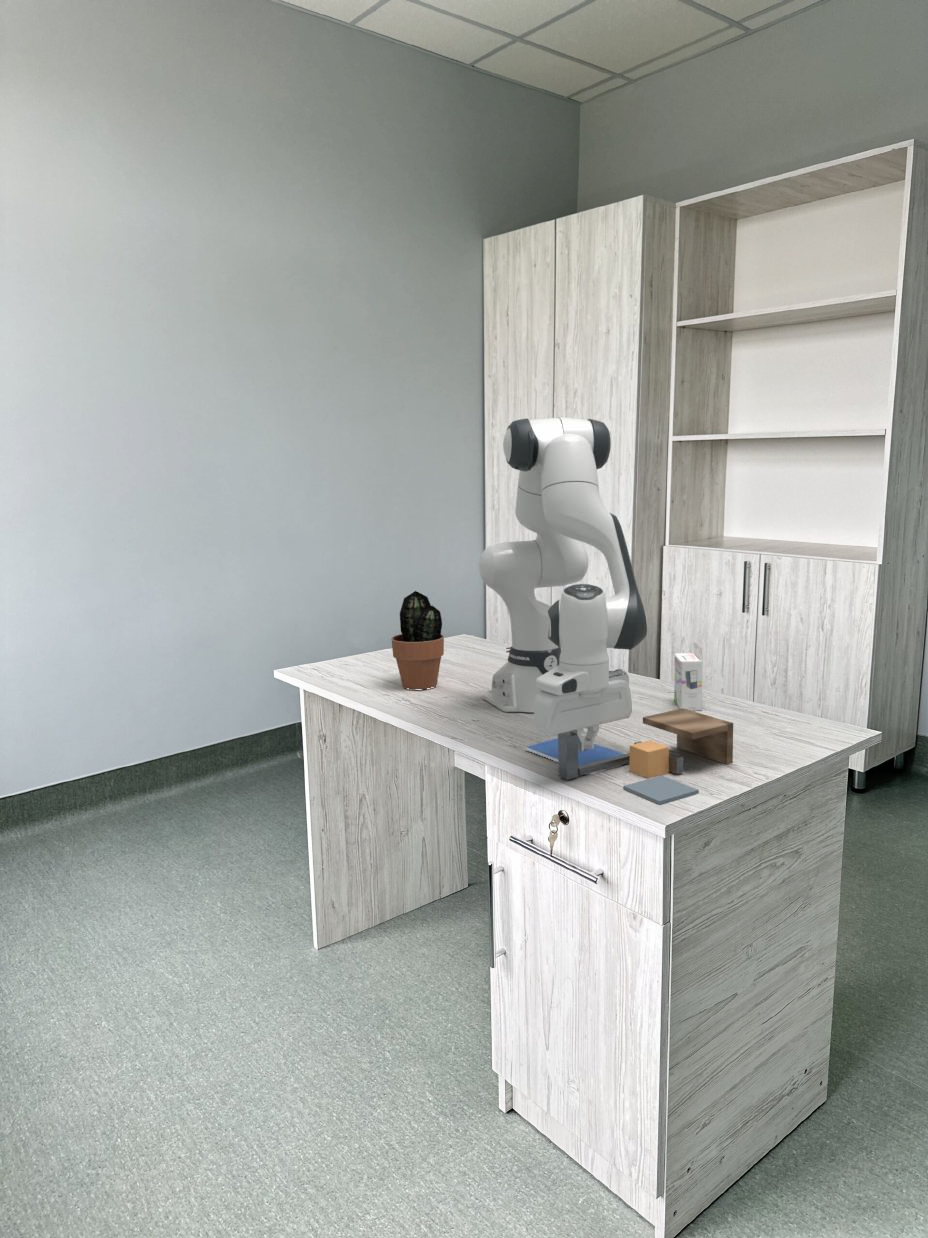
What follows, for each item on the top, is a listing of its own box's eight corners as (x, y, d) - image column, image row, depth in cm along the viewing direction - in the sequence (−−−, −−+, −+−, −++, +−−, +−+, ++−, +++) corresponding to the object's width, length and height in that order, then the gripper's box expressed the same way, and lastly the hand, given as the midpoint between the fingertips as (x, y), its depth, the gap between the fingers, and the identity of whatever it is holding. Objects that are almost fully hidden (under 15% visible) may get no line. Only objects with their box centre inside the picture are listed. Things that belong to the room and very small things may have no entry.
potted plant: (388, 693, 229) (384, 596, 225) (399, 680, 243) (394, 588, 238) (441, 693, 227) (438, 595, 223) (449, 680, 241) (445, 587, 237)
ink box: (673, 701, 212) (673, 640, 210) (694, 701, 212) (695, 639, 210) (680, 711, 204) (681, 647, 201) (702, 711, 204) (703, 647, 201)
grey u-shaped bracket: (558, 776, 163) (558, 733, 162) (638, 755, 173) (638, 715, 172) (600, 795, 154) (600, 750, 152) (682, 772, 163) (683, 729, 162)
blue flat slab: (637, 763, 172) (637, 756, 172) (589, 778, 165) (589, 771, 164) (569, 740, 187) (569, 734, 187) (522, 753, 180) (522, 746, 180)
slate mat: (623, 789, 157) (623, 785, 157) (661, 778, 161) (661, 775, 161) (659, 804, 149) (659, 801, 149) (698, 793, 154) (698, 789, 154)
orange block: (629, 771, 166) (629, 745, 165) (649, 766, 169) (649, 740, 168) (648, 778, 162) (648, 752, 161) (668, 773, 164) (668, 747, 164)
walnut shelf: (642, 755, 174) (642, 717, 173) (682, 745, 180) (682, 708, 178) (692, 774, 163) (692, 733, 162) (732, 762, 169) (733, 723, 167)
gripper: (616, 664, 170) (617, 735, 172) (528, 680, 159) (529, 755, 162) (639, 670, 165) (639, 743, 167) (549, 687, 154) (551, 765, 156)
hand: (584, 749), depth 164 cm, fingers closed
